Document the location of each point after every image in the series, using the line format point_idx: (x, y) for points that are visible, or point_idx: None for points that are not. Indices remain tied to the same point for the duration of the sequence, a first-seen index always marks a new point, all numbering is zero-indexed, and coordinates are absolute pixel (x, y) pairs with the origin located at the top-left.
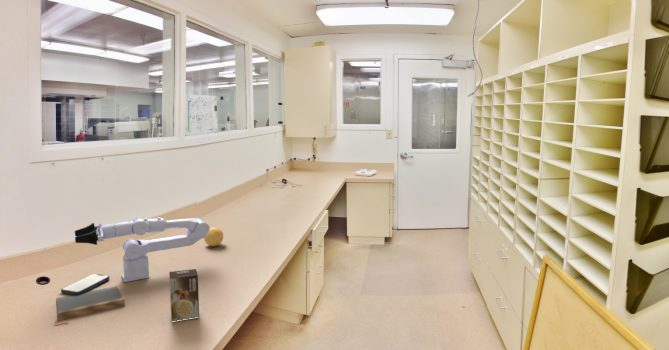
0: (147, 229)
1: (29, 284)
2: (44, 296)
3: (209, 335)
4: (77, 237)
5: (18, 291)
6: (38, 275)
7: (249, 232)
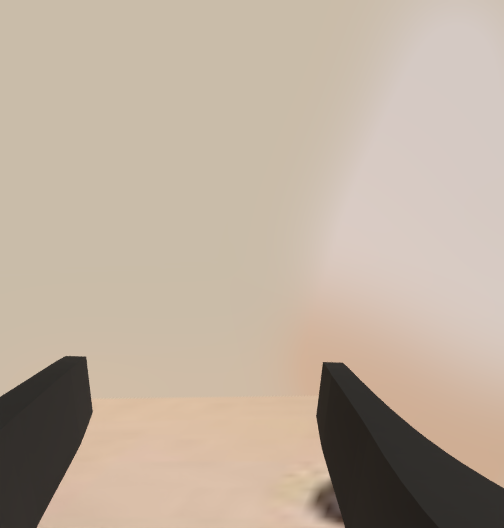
0: None
1: None
2: (159, 502)
3: None
4: (48, 372)
5: (271, 424)
6: None
7: None
